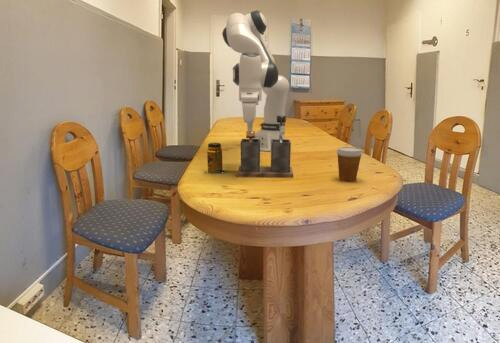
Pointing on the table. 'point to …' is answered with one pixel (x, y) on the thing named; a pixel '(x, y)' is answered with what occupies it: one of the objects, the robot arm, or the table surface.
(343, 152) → the disposable coffee cup
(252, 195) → the table surface
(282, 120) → the plunger right
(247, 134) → the plunger left
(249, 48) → the robot arm
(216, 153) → the condiment
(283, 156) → the stand
